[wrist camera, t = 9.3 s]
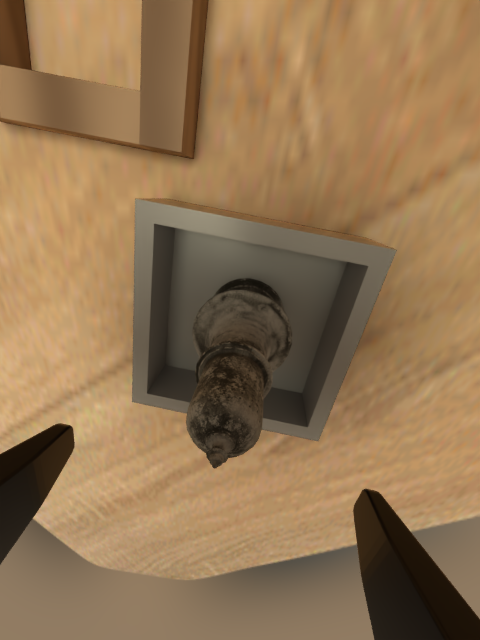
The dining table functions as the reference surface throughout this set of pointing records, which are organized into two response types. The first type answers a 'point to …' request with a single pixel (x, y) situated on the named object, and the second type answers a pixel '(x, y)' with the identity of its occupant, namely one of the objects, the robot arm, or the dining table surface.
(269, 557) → the dining table surface
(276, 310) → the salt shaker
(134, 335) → the bin
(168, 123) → the socket block
